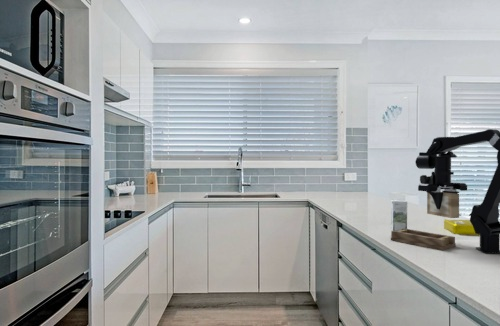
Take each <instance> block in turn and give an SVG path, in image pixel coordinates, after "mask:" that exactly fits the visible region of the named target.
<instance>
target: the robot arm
mask: <svg viewBox="0 0 500 326" xmlns="http://www.w3.org/2000/svg"><path fill="white" fill-rule="evenodd" d="M487 142H488V143H489V144H490V146H491V147H492V148H494V149H495V150H496V151H497V153H496V160H497V166H496V168H495V171H494V174H493V176H492V178H491V181H490V183H489V186H488V188H487V191H486V193H485V195H484V198H483V200H482V202H481V203H479V204H474V205H473V206H472V210H471V212H470V213H469V215H468V216H470V217H469V220H470V222H471V224H472V225H473V228H474V230H475V233H476V234H480V235H479V246H478V247H475V250H477V251H479V252H481V253H484V254H500V220H499V218H500V210H499V206H500V130H499V129H493V128H492V129H490V128H488V129H485V130H482V131H481V130H480V131H477V132H472V133H467V134H462V135H457V136H437V137H435V138H433V139H432V141H431V144H430V146H429V147H428V149H427V151H426V152H425V151H423V152H419V153H418V156H417V157H416V159H415V166H416V168H418V169H423V170H424V169H426V170H433V169H434V171H431V175H430V176H429V175H428V176H427V174H422V175H420V176H419V184H418V185H417V190H418V191H419V192H426V194H427V193H429V194H430V195H431V196H432V198H433V200H434V203H435V205H436V208H437V209H440V207H441V203H442V197H443V192H446V193H455V194H460V191H468V184H467V183H465V182H452V175H453V176H454V175H455V174H454V173H455V172H454V171H452V158H457V157H458V156H457V155H456V154H455V153H453V151H455V150H458V149H459V148H461V147H465V146H469V145H470V146H471V145H472V146H473V145H476V144H482V143H487ZM457 190H459V191H457Z"/></svg>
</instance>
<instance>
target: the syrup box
mask: <svg viewBox="0 0 500 326" xmlns="http://www.w3.org/2000/svg"><path fill="white" fill-rule="evenodd" d="M390 212H391V213H390V214H391V219H390V220H391V222H390V225H391V226H390V230H391V231H400V230H402V229H408V201H407V200H406V199H391V211H390ZM391 231H390V232H391Z"/></svg>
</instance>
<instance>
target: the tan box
mask: <svg viewBox="0 0 500 326" xmlns="http://www.w3.org/2000/svg"><path fill="white" fill-rule="evenodd" d="M426 207H427V208H426V210H427V211H426V214H427V215H433V216H438V217H442V218H447V219H448V218H449V219H459V218H460V193H458V194H455V193H446V192H443V197H442V203H441V207H440V209H437V208H436V205H435V203H434V200H433V198H432V196H431V195H430V194H429V193H427V192H426Z"/></svg>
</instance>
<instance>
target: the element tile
mask: <svg viewBox="0 0 500 326" xmlns="http://www.w3.org/2000/svg"><path fill="white" fill-rule="evenodd" d="M443 229H445V230H446V231H448V232H449V233H451V234H454V235H465V236H466V235H467V236H468V235H469V236H472V235H473V236H480V234H476V233H475V230H474V228H473V225H472V224H471V222H470V219H448V218H447V219H444V220H443Z"/></svg>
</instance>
